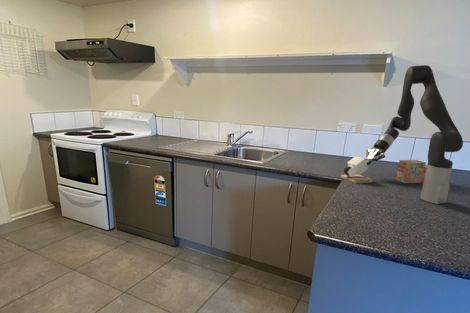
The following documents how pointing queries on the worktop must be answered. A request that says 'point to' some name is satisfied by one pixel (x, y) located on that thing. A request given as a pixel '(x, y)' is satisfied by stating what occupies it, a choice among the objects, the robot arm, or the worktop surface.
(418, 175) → the stack of blocks
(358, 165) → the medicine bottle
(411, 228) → the worktop surface
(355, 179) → the maple board
